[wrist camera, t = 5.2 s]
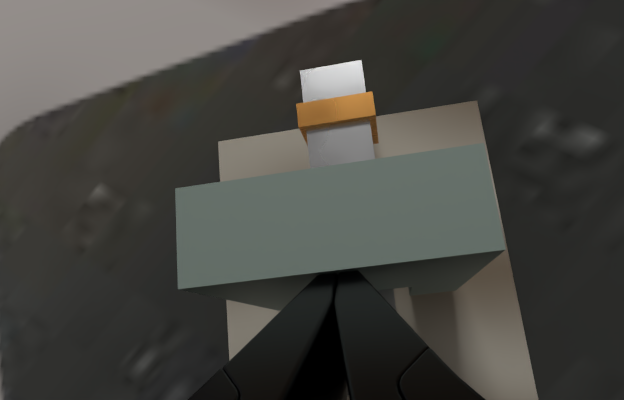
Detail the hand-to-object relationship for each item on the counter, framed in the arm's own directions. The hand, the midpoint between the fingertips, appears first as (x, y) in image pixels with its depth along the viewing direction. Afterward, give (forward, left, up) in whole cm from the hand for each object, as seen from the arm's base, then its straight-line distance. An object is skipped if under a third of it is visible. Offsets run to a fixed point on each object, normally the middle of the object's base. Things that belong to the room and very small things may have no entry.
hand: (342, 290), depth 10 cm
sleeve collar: (+1, +1, -7) cm, 8 cm away
